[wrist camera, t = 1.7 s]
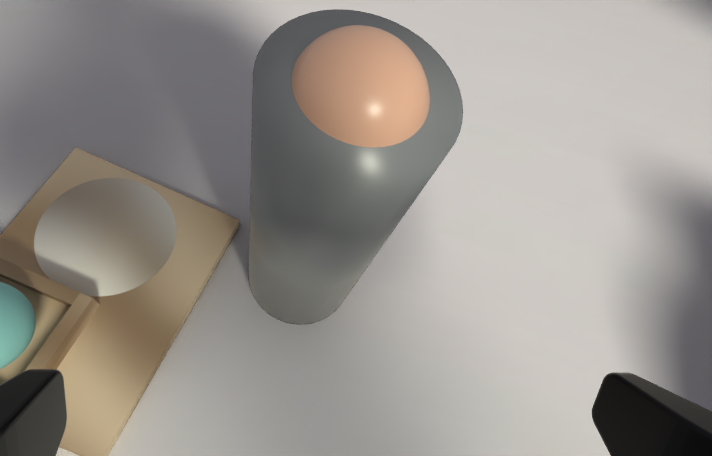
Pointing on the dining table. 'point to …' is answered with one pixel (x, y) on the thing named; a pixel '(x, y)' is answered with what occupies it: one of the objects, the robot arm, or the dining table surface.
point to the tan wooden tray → (107, 286)
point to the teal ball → (14, 324)
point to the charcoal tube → (339, 152)
